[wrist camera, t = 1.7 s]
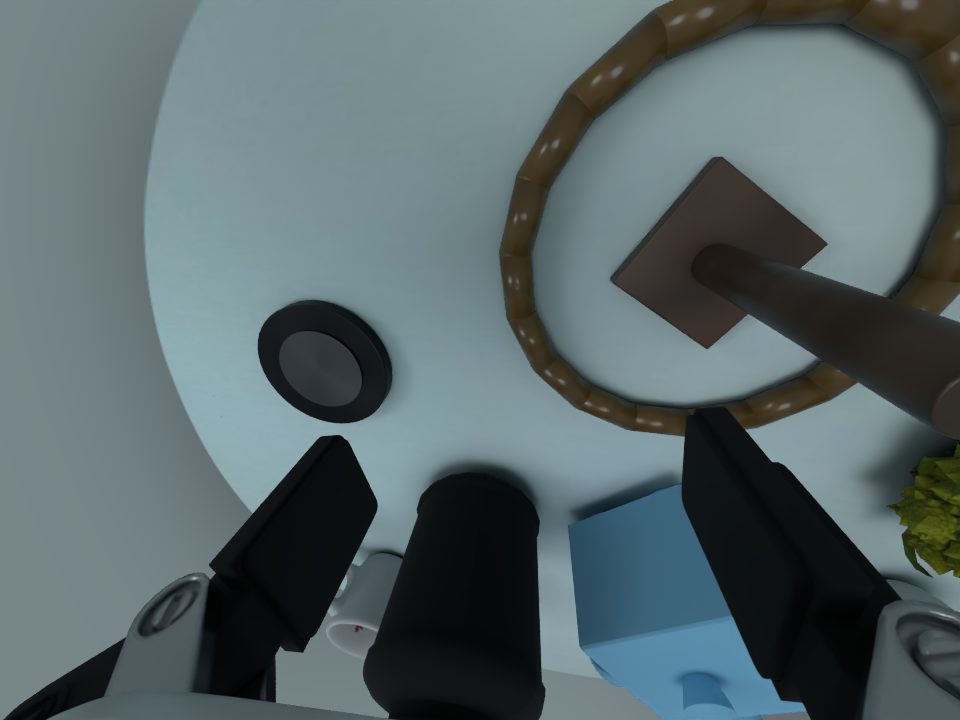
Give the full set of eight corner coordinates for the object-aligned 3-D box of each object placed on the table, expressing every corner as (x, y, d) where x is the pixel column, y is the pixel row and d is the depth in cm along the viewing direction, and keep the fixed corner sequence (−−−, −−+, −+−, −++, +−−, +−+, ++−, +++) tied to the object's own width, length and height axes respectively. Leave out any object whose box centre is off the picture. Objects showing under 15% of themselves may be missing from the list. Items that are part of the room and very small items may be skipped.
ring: (436, 311, 25) (428, 322, 23) (738, -201, 13) (769, -260, 11) (691, 472, 28) (701, 492, 27) (1112, 184, 16) (1181, 185, 15)
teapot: (544, 519, 34) (549, 690, 22) (703, 456, 27) (821, 649, 16) (636, 610, 39) (678, 788, 27) (789, 575, 32) (925, 786, 21)
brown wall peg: (609, 278, 22) (718, 424, 9) (712, 156, 18) (1163, 96, 5) (701, 343, 23) (917, 557, 10) (816, 241, 19) (1405, 368, 6)
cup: (330, 549, 42) (288, 623, 35) (360, 523, 38) (321, 599, 31) (399, 591, 44) (374, 668, 37) (434, 569, 41) (414, 650, 34)
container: (527, 552, 36) (521, 833, 21) (419, 527, 37) (335, 781, 21) (556, 474, 31) (578, 784, 15) (428, 446, 31) (320, 715, 16)
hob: (255, 374, 30) (243, 382, 29) (286, 272, 25) (273, 276, 24) (364, 434, 32) (357, 444, 31) (414, 349, 27) (408, 357, 25)
